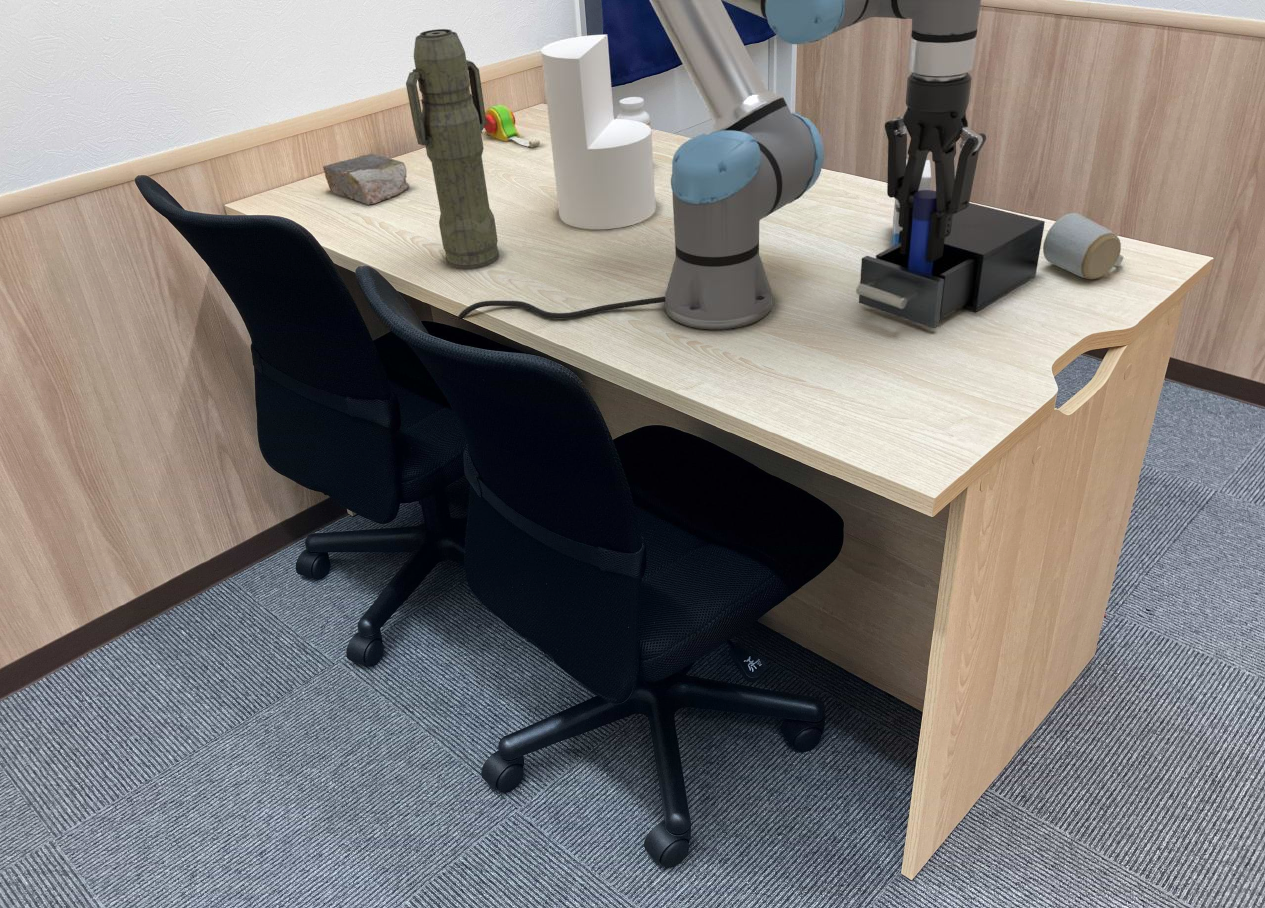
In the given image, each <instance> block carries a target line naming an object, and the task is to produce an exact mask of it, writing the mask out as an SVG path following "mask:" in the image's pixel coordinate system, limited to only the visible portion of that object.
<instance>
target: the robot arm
mask: <svg viewBox="0 0 1265 908" xmlns="http://www.w3.org/2000/svg"><path fill="white" fill-rule="evenodd" d="M649 2H650V4H651V6H652V8H653V10H654V12H655V14H656V16H657V17H658V19H659V22H660V23H661V25H662V27H663V28H664V31H665V33H666V35H667V37H668V39H669V41H670V42H671V44H672V46H673V48H674V50H675V52H676V53H677V56H678V58H679V59H680V61H681V63H682V65H683V67H684V69H685V71H686V73H687V75H688V77H689V78H690V81H691V82H692V84H693V86H694V88H695V90H696V92H697V93H698V96H699V97H700V100H701V101H702V103H703V105H704V107H705V109H706V111H707V113H708V115H709V117H710V119H711V121H712V129H711V133H708V134H706V133H702V134H698V135H696V136H694V137H691V138H690V139H688V140H687V141H685V142H683V143H682V144H681V145H680V146H679V147H678V148H677V149H676V151H675V153H674V154H673V157H672V160H671V176H670V187H671V191H672V210H673V228H674V229H673V230H674V232H673V233H674V250H675V258H674V262H673V265H672V269H671V272H670V275H669V278H668V282H667V286H666V289H665V292H664V293H665V294H664V296H658V297H649V298H644V299H643V298H642V299H635V300H629V301H623V302H617V303H610V304H603V305H598V306H594V307H590V308H586V309H582V310H577V311H570V312H551V311H546V310H543V309H540V308H539V307H536V306H534V305H533V304H530V303H528V302H526V301H519V300H482V301H479V302H475V303H472V304H470V305H469V306H467V307H466V308H464V309H463V310H462V311H461V312H460V313H459V315H458V316H456V319H457V320H462V319H464V318H466V316H467V315H468V314H470V313H471V312H473V311H476V310H477V309H481V308H486V307H518V308H523V309H525V310H528V311H530V312H533V313H534V314H536V315H539V316H540V317H544V318H549V319H556V320H557V319H559V320H562V319H564V320H565V319H574V318H578V317H579V318H580V317H583V316H588V315H592V314H597V313H600V312H605V311H611V310H618V309H625V308H632V307H638V306H645V305H652V304H653V305H654V304H660V303H664V309H665V313H666V315H667V316H669V318H670V319H672V320H673V321H674V322H676V323H679V324H681V325H683V326H686V327H688V328H689V327H690V328H695V329H701V330H729V329H736V328H741V327H745V326H749V325H751V324H754V323H756V322H758V321H760V320H762V319H763V318H765V317H766V316H767V315H768V314H769V313H770V311H771V310H772V305H773V301H772V300H773V295H772V288H771V285H770V283H769V280H768V279H769V278H768V276H767V272H766V270H765V268H764V264H763V262H762V259H761V256H760V222H761V220H762V219H764V218H766V217H768V216H769V215H771V214H773V213H775V212H776V211H779V210H780V209H782V208H783V207H785V206H786V205H788V204H792V203H793V202H795V201H796V200H799V199H800V198H801V197H803V195H804V194H805V193H806V192H808V191H809V190H810V189H811V188H812V187H813V186H814V185H815V184H816V182H817V181H818V180H819V177H820V175H821V172H822V168H823V165H824V161H825V149H824V143H823V139H822V137H821V134H820V132H819V130H818V129H817V127H816V126H815V124H814V123H813V122H812V121H811V120H810V119H808V118H807V117H805V116H802V115H800V113H797V112H796V113H795V112H791V110H790V108H789V106H788V104H787V102H786V100H785V98H784V96H783V95H782V94H779V93H775V92H772V91H769V90H768V89H767V88H766V85H765V84H764V82H763V80H762V78H761V76H760V74H759V72H758V70H757V69H756V66H755V64H754V63H753V60H752V58H751V56H750V55H749V54H750V53H748V51H747V49H746V46H745V45H744V43H743V41H742V39H741V37H740V35H739V33H738V31H737V29H736V27H735V25H734V23H733V20H732V19H731V17H730V15H729V14H728V11H727V9H726V8H725V6H724V4H723V2H725V3H728V4H730V5H733V6H735V7H737V8H739V9H742V10H744V11H747V12H748V13H751V14H753V15H756V16H758V17H761V18H763V19H765V20H767V23H768V25H769V27H770V29H771V30H772V31H773V33H774V34H775V35H776V37H777V38H778V39H779V40H781V41H782V42H784V43H787V44H790V45H804V44H807V43H815V42H818V41H821V40H823V39H825V38H827V37H828V36H830V35H833V34H834V33H836V32H839V31H841V30H844V29H845V28H848V27H851V26H853V25H856V24H859V23H861V22H863V21H865V20H868V19H870V18H887V19H892V18H893V19H899V20H911V35H910V44H909V46H910V47H909V56H908V66H907V69H908V71H909V72H910V73H911V74H909V76H908V77H907V79H906V81H907V82H906V92H905V93H906V94H905V105H906V109H905V112H904V113H903V116H902V117H900V116H899V117H896V118H894V119H891V120H888V121H886V122H885V123H884V130H885V134H886V138H887V180H886V181H887V182H886V183H887V186H886V193H887V197H889V198H893V199H894V200H895V199H897V200H898V202H899V204H900V209H899V221H898V224H899V227H902V228H903V229H902V240H901V251H900V254H904V255H906V254H908V253H909V250H910V240H911V229H912V219H913V217H912V210H913V200H914V193H915V192H917V191H918V190H919V186H920V182H921V178H922V174H923V171H924V167H925V163H926V160H928V156H929V155H928V154H929V153H930V152H931V159H932V162H933V163H934V176H935V177H934V178H935V191H936V201H937V211H935V212H934V213H932V214H931V219H930V228H929V238H928V247H927V257H926V261H927V262H930V263H931V262H933V261H935V260H937V259H939V258H941V257H942V256H943V250H944V241H945V237H947V236H949V235H950V233H951V226H952V218H953V214H955V213H958V212H960V211H962V210H964V209H966V208H967V207H968V206H969V203H970V201H971V196H972V190H973V186H974V180H975V175H976V170H977V165H978V159H979V154H980V151H981V149H982V148H983V147H984V144H985V143H986V141H987V135H986V134H985V133H983V132H980V133H978V134H977V133H976V132H975V131H974V130H972V129H971V128H970V127H969V121H968V119H967V110H968V106H969V104H970V96H971V87H972V80H973V79H972V76H971V74H970V73H971V71H973V69H974V60H975V53H976V52H975V51H976V44H977V36H978V35H977V34H978V26H979V25H978V24H979V18H980V10H981V3H982V0H649ZM908 135H909V137H910V141H909V145H908ZM960 139H961V143H960V144H959V148H960V153H959V156H958V161H957V166H956V167H957V168H956V167H955V157H956V155H957V142H958V141H959V140H960ZM907 155H908V157H907ZM907 159H908V162H907V166H906V161H907ZM955 168H956V171H955Z"/></svg>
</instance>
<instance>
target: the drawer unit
mask: <svg viewBox="0 0 1265 908" xmlns="http://www.w3.org/2000/svg"><path fill="white" fill-rule="evenodd" d="M1045 223H1046V221H1045V220H1041V219H1037V218H1033V217H1029V216H1025V215H1022V214H1021V215H1020V214H1017V213H1013V212H1010V211H1009V212H1008V211H1004V210H1001V209H996V208H993V207H988V206H984V205H980V204H976V203H972V202H969V206H968V207H967V208H966V209H964V210H962V211H960V212H958V213H955V214H953V218H952V226H951V233H950V235H949V236H947V237H945V241H944V249H948V250H951V251H955V252H958V253H962V254H965V255H969V256H972V257H976V258H979V261H978V268H977V276H976V283H975V290H974V298H973V301H971V302H969V303H968V304H966V305H964V306H963V307H961V308H960V309H964V310H967V311H970V312H973V313H977V312H979V311H981V310H982V309H985V308H986V307H987V306H989V305H991V304H993V303H995V302H996V301H998V300H999V299H1001V298H1002V297H1004V296H1006V295H1007V294H1009V293H1011V292H1012V291H1014V290H1015V289H1017V288H1019V287H1021V286H1022V285H1024V284H1026V283H1028V282H1029V281H1030V280H1032V279H1034V278H1036V277H1037V269H1038V265H1039V260H1040V259H1039V258H1040V253H1041V246H1042V241H1043V236H1044V235H1043V234H1044V230H1045ZM901 240H902V230H901V231H899V241H898V244H899V243H901Z"/></svg>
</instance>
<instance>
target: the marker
mask: <svg viewBox="0 0 1265 908" xmlns="http://www.w3.org/2000/svg"><path fill="white" fill-rule="evenodd" d="M935 211H937V201H936V190H933V189H930V190H921V191H917V192H915V193H914V200H913V210H912V217H913V219H912V229H911V240H910V250H909V261H908V268H909V269H912V270H915V271H919V272H922V273H925V274H928V275H932V267H933V262H931V263H930V262H927V261H926V257H927V247H928V238H929V228H930V219H931V214H932V213H934V212H935Z"/></svg>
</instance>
